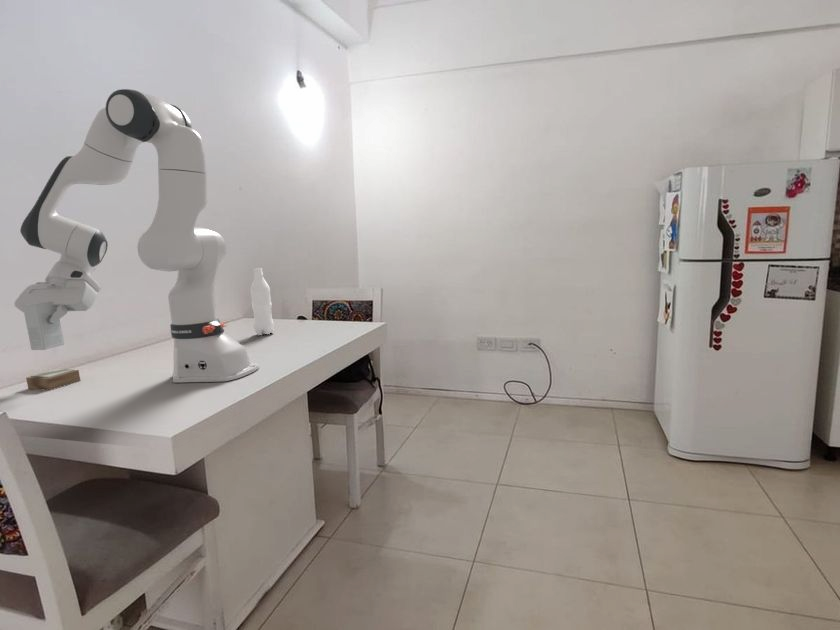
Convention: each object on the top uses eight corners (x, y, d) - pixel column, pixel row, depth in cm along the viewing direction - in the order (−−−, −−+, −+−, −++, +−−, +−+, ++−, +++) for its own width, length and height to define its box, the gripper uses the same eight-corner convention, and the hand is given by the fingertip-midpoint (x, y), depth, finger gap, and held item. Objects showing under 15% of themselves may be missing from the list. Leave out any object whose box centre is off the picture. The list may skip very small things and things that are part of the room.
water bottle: (268, 336, 179) (261, 268, 175) (251, 336, 181) (243, 269, 177) (278, 332, 186) (271, 267, 182) (261, 332, 188) (254, 267, 184)
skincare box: (50, 345, 130) (43, 300, 128) (64, 344, 130) (57, 300, 128) (29, 350, 124) (21, 304, 122) (44, 350, 124) (36, 303, 122)
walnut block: (80, 380, 131) (78, 369, 130) (50, 390, 123) (48, 377, 123) (59, 379, 133) (56, 368, 133) (28, 388, 126) (25, 376, 125)
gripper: (24, 275, 132) (-5, 317, 124) (91, 272, 129) (67, 314, 121) (41, 289, 137) (15, 330, 129) (107, 287, 134) (84, 328, 126)
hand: (41, 323), depth 125 cm, fingers closed on skincare box, 4 cm apart
